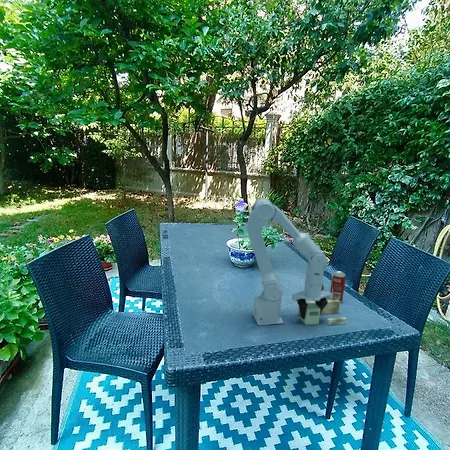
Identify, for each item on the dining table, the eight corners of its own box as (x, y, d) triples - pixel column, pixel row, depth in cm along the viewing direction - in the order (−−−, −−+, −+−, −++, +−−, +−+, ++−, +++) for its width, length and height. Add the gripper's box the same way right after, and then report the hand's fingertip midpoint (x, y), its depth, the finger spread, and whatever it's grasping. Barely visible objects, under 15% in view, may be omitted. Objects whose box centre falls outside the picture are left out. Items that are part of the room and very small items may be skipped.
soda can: (331, 295, 127) (335, 269, 124) (344, 299, 124) (347, 273, 121) (327, 300, 123) (330, 273, 120) (339, 304, 120) (343, 276, 117)
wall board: (308, 327, 103) (310, 314, 101) (298, 314, 111) (299, 302, 110) (349, 323, 106) (351, 311, 105) (336, 311, 114) (337, 299, 113)
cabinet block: (306, 326, 103) (308, 310, 102) (300, 318, 108) (301, 303, 107) (319, 325, 104) (321, 309, 103) (312, 317, 109) (314, 302, 108)
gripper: (299, 288, 98) (295, 324, 101) (338, 286, 101) (333, 321, 104) (290, 279, 104) (287, 313, 108) (327, 277, 107) (323, 311, 110)
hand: (309, 316), depth 106 cm, fingers closed on cabinet block, 5 cm apart
